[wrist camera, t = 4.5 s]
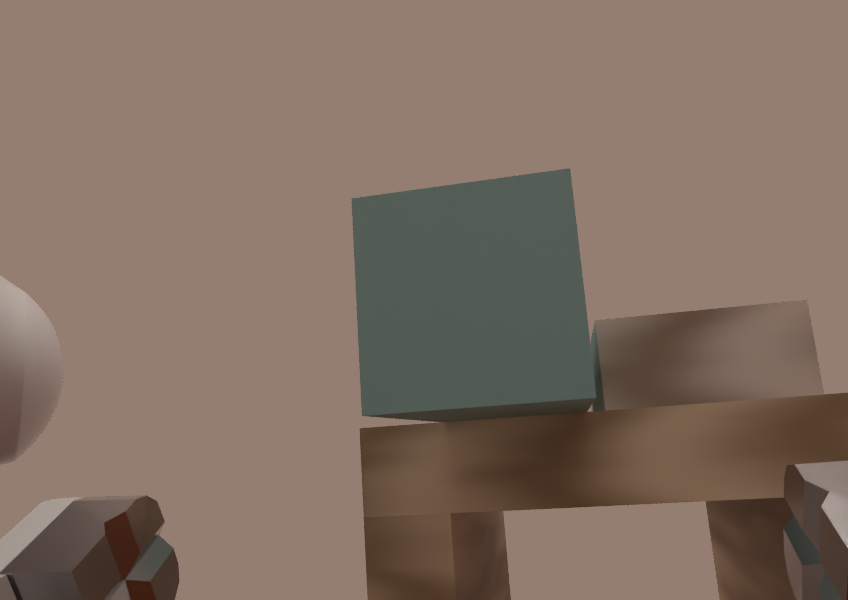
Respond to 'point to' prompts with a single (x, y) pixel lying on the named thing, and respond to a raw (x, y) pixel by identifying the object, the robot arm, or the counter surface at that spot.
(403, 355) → the stub bar
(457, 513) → the shelf
